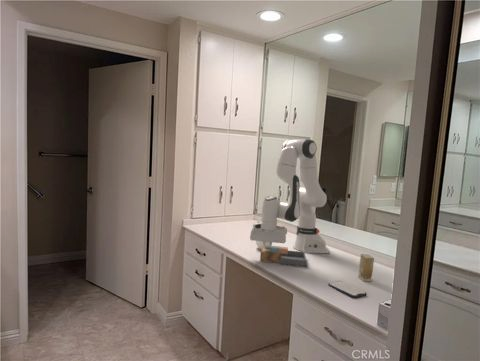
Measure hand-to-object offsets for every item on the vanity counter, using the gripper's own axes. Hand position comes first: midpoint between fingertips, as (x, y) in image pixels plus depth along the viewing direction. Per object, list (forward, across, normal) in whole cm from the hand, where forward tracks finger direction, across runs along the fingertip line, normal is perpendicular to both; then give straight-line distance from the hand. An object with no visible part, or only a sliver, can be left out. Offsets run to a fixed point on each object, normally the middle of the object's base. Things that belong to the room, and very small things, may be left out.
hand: (267, 249), depth 194 cm
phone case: (+6, -38, +35) cm, 52 cm away
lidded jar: (+6, +2, -19) cm, 20 cm away
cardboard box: (+5, -2, 0) cm, 6 cm away
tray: (+5, -15, 0) cm, 16 cm away
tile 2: (+1, -4, 0) cm, 4 cm away
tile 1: (+1, -9, 0) cm, 9 cm away
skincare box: (+6, -50, +18) cm, 53 cm away
